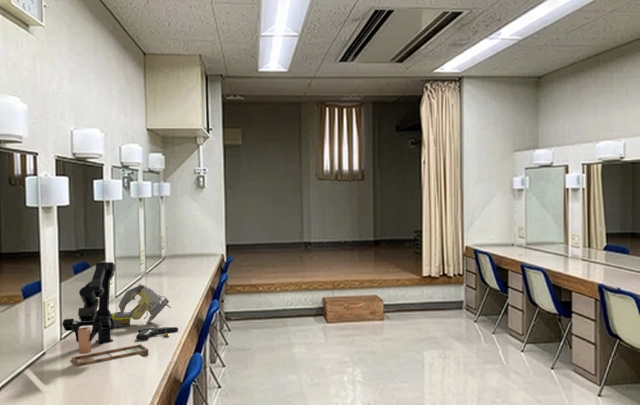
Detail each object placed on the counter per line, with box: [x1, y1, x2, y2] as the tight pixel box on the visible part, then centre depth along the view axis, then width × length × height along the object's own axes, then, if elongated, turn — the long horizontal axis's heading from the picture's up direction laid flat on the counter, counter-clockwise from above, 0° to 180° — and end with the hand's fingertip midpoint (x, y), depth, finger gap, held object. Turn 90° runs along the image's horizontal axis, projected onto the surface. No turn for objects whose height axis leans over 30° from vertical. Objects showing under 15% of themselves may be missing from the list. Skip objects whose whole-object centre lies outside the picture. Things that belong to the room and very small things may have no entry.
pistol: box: [136, 326, 179, 341], centre depth 259 cm, size 3×20×15 cm
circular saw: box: [111, 283, 172, 327], centre depth 284 cm, size 10×30×25 cm
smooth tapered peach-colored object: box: [77, 326, 92, 355], centre depth 216 cm, size 5×5×10 cm
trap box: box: [71, 343, 149, 367], centre depth 222 cm, size 30×11×2 cm, turn 127°
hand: (83, 341), depth 215 cm, fingers closed on smooth tapered peach-colored object, 5 cm apart
